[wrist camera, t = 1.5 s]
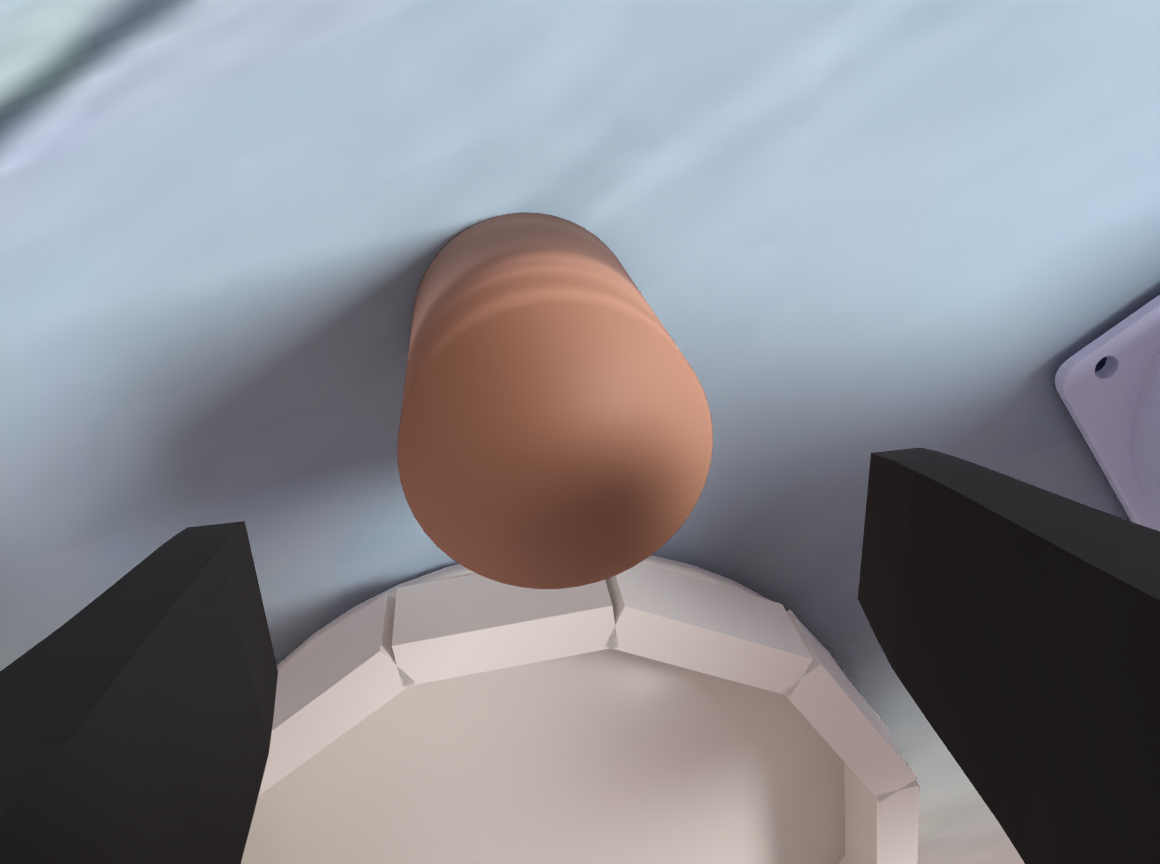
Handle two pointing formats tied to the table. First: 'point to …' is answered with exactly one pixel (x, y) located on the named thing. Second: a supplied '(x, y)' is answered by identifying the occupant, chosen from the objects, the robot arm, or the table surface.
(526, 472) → the brown rounded cylinder
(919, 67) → the table surface
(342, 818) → the round tray
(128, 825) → the robot arm
